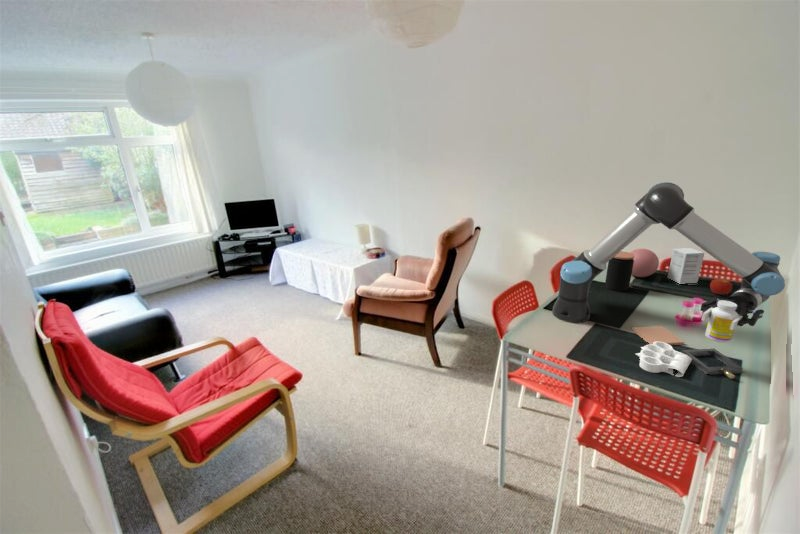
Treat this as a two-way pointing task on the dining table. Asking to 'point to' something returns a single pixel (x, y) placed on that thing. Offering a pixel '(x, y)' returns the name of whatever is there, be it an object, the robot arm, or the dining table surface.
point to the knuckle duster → (663, 359)
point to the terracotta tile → (657, 335)
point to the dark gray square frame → (726, 370)
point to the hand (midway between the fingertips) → (717, 321)
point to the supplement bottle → (721, 322)
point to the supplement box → (685, 265)
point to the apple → (720, 286)
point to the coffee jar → (619, 271)
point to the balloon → (644, 263)
